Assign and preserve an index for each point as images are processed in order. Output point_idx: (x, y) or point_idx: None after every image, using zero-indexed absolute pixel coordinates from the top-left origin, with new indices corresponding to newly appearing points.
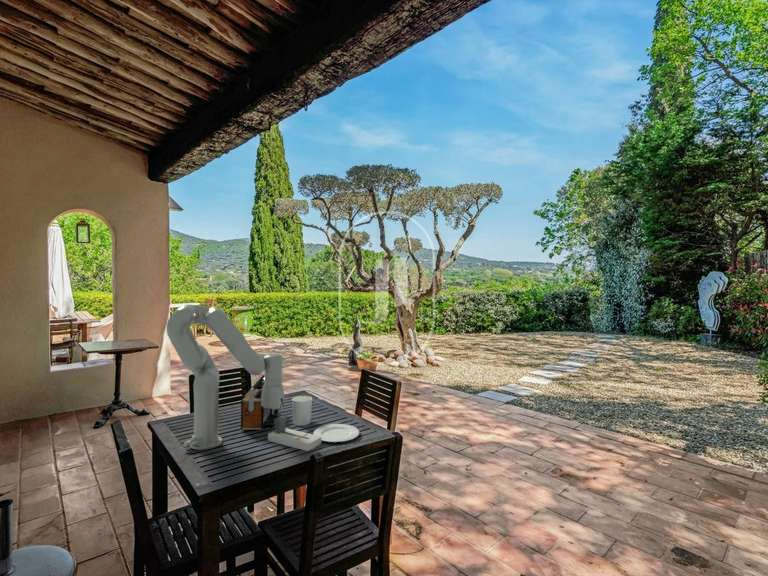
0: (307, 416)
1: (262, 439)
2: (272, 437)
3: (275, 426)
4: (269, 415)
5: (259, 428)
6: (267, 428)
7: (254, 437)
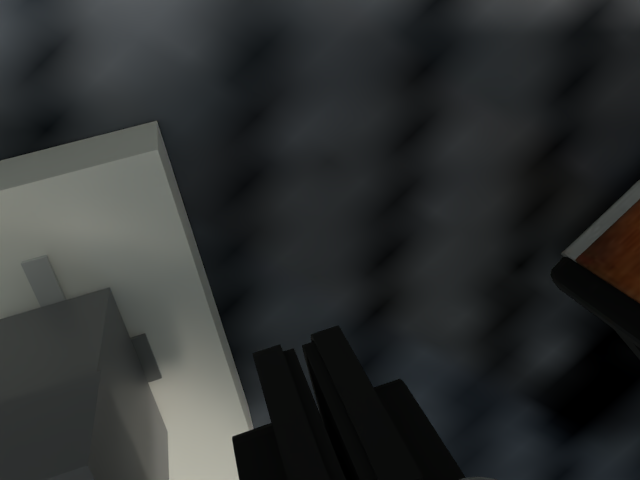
0: None
1: (273, 83)
2: (34, 168)
3: (89, 354)
4: (397, 463)
5: (590, 237)
6: (549, 345)
7: (443, 36)
